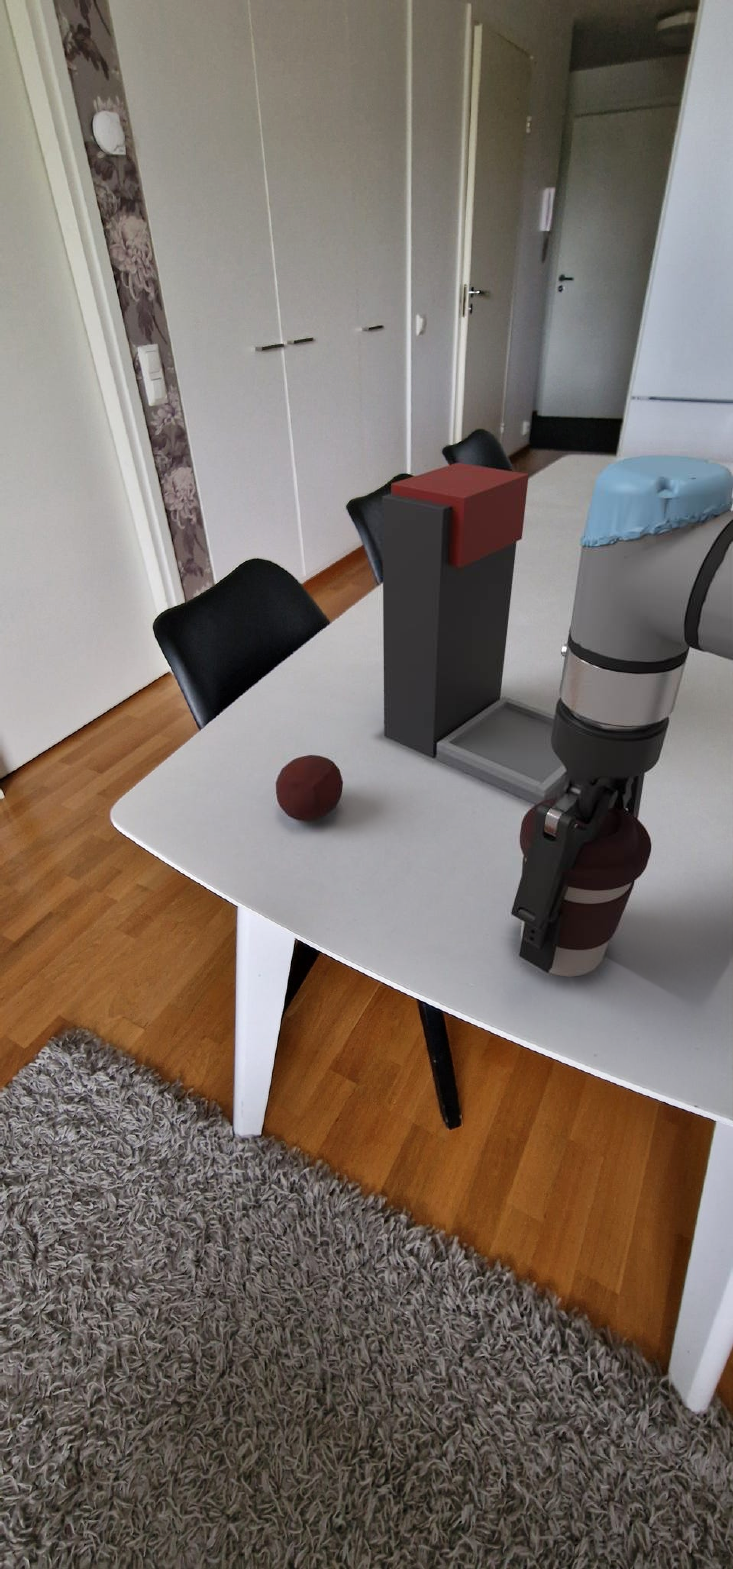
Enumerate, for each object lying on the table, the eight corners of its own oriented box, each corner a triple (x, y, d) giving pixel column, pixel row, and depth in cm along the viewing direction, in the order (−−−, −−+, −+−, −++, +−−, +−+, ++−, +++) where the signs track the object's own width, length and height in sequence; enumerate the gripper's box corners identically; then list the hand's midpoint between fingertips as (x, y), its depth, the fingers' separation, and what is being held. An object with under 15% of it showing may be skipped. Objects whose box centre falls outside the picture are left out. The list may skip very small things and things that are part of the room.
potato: (354, 801, 81) (352, 750, 77) (323, 842, 75) (319, 789, 71) (299, 786, 83) (294, 736, 79) (264, 824, 78) (257, 772, 74)
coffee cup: (632, 992, 59) (675, 860, 50) (514, 992, 59) (535, 861, 50) (602, 905, 67) (634, 778, 58) (498, 906, 67) (514, 779, 58)
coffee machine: (604, 750, 88) (660, 491, 70) (542, 807, 79) (588, 527, 61) (451, 692, 101) (465, 460, 82) (384, 736, 92) (381, 486, 73)
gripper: (631, 636, 57) (586, 844, 70) (476, 754, 44) (456, 982, 57) (726, 663, 53) (659, 878, 66) (586, 801, 40) (537, 1035, 53)
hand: (565, 926), depth 62 cm, fingers open, 9 cm apart
